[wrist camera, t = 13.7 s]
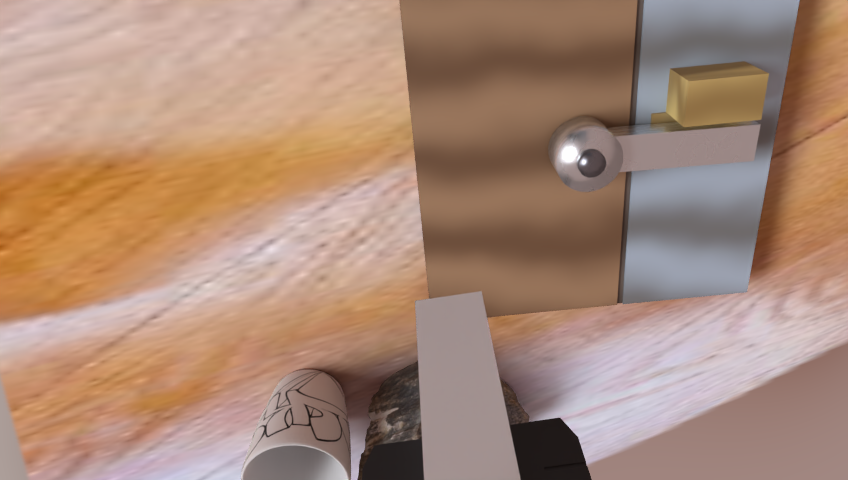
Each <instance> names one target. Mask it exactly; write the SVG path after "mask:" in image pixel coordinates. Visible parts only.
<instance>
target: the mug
mask: <svg viewBox="0 0 848 480" xmlns="http://www.w3.org/2000/svg"><path fill="white" fill-rule="evenodd" d="M241 480H351V447H350V430H349V422H348V415H347V409H346V403H345V397H344V393H343V390H342V388H341V386H340V384H339V383H338V382H337V381H336V380H335V379H334V378H333V377H332V376H330V375H329V374H326V373H324V372H321V371H318V370H312V369H305V370H299V371H295V372H292V373H290V374H288V375H287V376H285V377H284V378H283V379H282V380H281V381H280V382H279V383H278V385H277V386H276V388H275V390H274V391H273V393H272V395H271V397H270V399H269V401H268V403H267V405H266V407H265V409H264V411H263V413H262V415H261V417H260V420H259V422H258V424H257V427H256V429H255V432H254V435H253V438H252V441H251V443H250V446H249V449H248V452H247V455H246V458H245V461H244V464H243V468H242V473H241Z"/></svg>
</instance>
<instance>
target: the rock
mask: <svg viewBox="0 0 848 480" xmlns="http://www.w3.org/2000/svg"><path fill="white" fill-rule="evenodd" d="M500 382H501V387H502V392H503V397H504V402H505V407H506V411H507V416H508V421H509V425H512V424H519V423H526V422H528V421H529V416H528V414H527V413H525V411H524V410H523V408H522V407H521V405H520V404H519V403H518V400H517V397H516V394H515V393H514V392H513V390H512V389H511V388H510V387H509V386H508V385H507V384H505V383H504V382H503V381H502V380H501V379H500ZM368 415H369V417H370V419H371V423H370V427H369V428H368V429H367V435H366V439H365V442H366V444H365V450H364V452H363V453H362V454H361V459H360V464H359V476H358V480H362V469H363V467H364V465H365V463H366V461H367V459H368V457H369V455H370V453H371V451H372V449H373V447H374V445H380V444H387V443H394V442H401V441H409V440H416V439H422V428H421V408H420V388H419V368H418V362H416V363H414V364H412V365H410V366H407V367H406V368H405V369H403V370H401V371H398V372H396V373H394V374H393V375H392V376H390V377H389V378H388V379H387V380H386V381H385V382H384V383H383V384H382V385H381V387H380V389H379V392H377V393H376V394H375V395H373V397H372V402H371V404H370V406H369V410H368Z"/></svg>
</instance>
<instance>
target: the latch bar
mask: <svg viewBox="0 0 848 480" xmlns="http://www.w3.org/2000/svg"><path fill="white" fill-rule="evenodd" d="M760 125H761V124H759V123H757V122H756V121H754V120H753V121H743V122H732V123H722V124H712V125H702V126H691V127H683V126H682V125H681V124H680V123H678V122H670V123H658V124H646V125H633V126H621V127H609V128H607V127H606V126H605V125H604V124H603V123H602V122H601V121H599V120H597V119H595V118H593V117H588V116H579V117H574V118H571V119H569V120H567V121H565V122H564V123H562V124H561V125H560V126H559V127H558V128H557V129H556V130H555V131H554V133H553V134H552V136H551V138H550V141H549V145H548V154H549V158H550V161H551V163H552V164H553V166H554V168H555V170H556V171H557V173H558V175H559V177H560V178H561V180H562V181H563V183H564V184H565V185H567V186H568V187H569V188H571V189H573V190H576V191H580V192H591V191H596V190H599V189H601V188H603V187H605V186H606V185H608V184H609V183H610V182H612V181H613V180H614V179H615V177H616V176H617V175H618V173H619V172H628V171H640V170H652V169H664V168H677V167H689V166H701V165H713V164H725V163H737V162H749V161H754V158H755V152H756V147H757V141H758V136H759V131H760Z"/></svg>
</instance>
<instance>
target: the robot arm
mask: <svg viewBox="0 0 848 480" xmlns="http://www.w3.org/2000/svg"><path fill="white" fill-rule="evenodd" d="M415 309H416V329H417V348H418V368H419V388H420V408H421V428H422V439H416V440H409V441H401V442H394V443H387V444H380V445H374V447H373V449H372V451H371V453H370V455H369V457H368V459H367V461H366V463H365V465H364V467H363V469H362V480H591V476H590V473H589V470H588V467H587V466H586V461H585V458H584V455H583V452H582V449H581V445H580V442H579V439H578V437H577V436H576V435H575V434H574V433H573V431H572V430H571V429H570V428H569V427H568V426H567V425H566V424H565V423H564V422H563V421H562V419H561V418H555V419H548V420H541V421H533V422H526V423H519V424H512V425H509V421H508V416H507V411H506V407H505V402H504V397H503V392H502V387H501V382H500V378H499V373H498V368H497V363H496V358H495V354H494V349H493V344H492V339H491V334H490V330H489V325H488V320H487V315H486V310H485V306H484V301H483V296H482V291H479V292H472V293H465V294H459V295H452V296H445V297H438V298H432V299H425V300H418V301H415Z"/></svg>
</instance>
